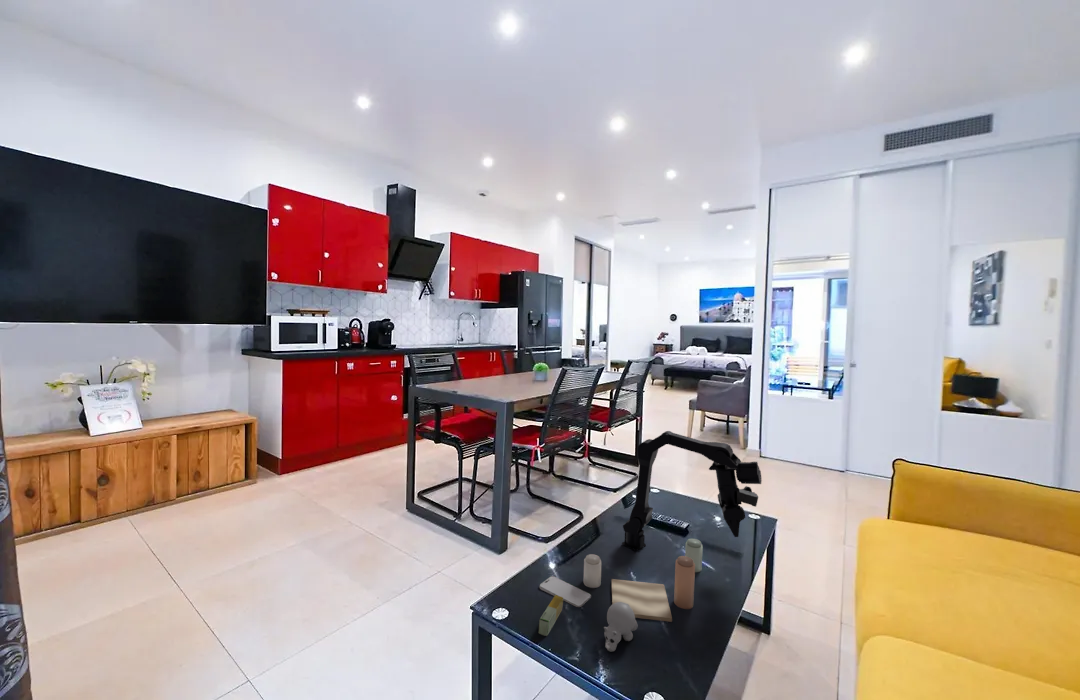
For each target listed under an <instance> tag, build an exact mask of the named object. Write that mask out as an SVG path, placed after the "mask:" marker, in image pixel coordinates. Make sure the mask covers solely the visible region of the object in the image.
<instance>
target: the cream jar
mask: <svg viewBox="0 0 1080 700" xmlns="http://www.w3.org/2000/svg"><path fill="white" fill-rule="evenodd" d="M601 581H602V559H601V557H600V556H599V555H597V554H593V553H589V554H587V555H586V556H585V558H584V559H583V581H582V582H583V585H584V586H586V587H587V588H589V589H595V588H599V587H600V586H601V584H602V582H601Z"/></svg>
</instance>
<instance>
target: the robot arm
mask: <svg viewBox="0 0 1080 700" xmlns="http://www.w3.org/2000/svg"><path fill="white" fill-rule="evenodd" d="M665 445H669V446H673V447H676V448H680V449H681V450H682V449H683V450H686V451H690V452H693V453H696V454H699V455H702V456H703V457H705V458H707V459H708V460H710V461H712V464H711V465H710V466H709V468H708V470H709V471H715V474H716V480H717V482H716V483H717V489H718V494H717V500H718V501H717V502H718V504H719V507H720V508H721V513H722V517H723V519H724V521H725V522H726V524H727V526H728V528H729V529H730V531H731V533H732V535H733V536H734V538H738V537H739V533H740V526H741V525H740V524H741V522H742V521H743V520H744V519H746V513H745V509H744V508H743V506H741V505H743V504H742V503H744V504H747V505H750V506H751V507H757V505H758V500H759V496H758V494H757V493H756V492H755V491H753V490H752V488H751V487H750V486H747V484H748V485H762V481H763V480H762V473H761V472H762V471H761V469H760V466H759V465H758V464H759V463H758V461H747V462H746V461H742V460H741V459H740V458H739V457H738V455H737V454H735V453H734V451H733V448H732V447H731V445H729V444H727V443H725V442H717V441H716V442H715V441H704V440H700V439H696V438H693V437H689V436H686V435H683V434H680V433H679V434H678V433H675V432H672V431H670V430H667V431H664V432H663V433H661V434H660V435H659V436H657V437H655V438H654V439H651V438H649V439H645V440H644V441H643V442H641V443H639V444H638V446H637V449H636V450H637V451H636V452H637V453H636V454H637V460H638V463H639V470H638V477H637V487H636V497H635V503H634V505H633V507H632V510H631V513H630V515H629V518H628V520H627V521H626V522H624V524H622V528H623V532H624V541H622V542H621V545H622V546H624V547H626V548H629V549H631V550H633V551H635V552H636V551H639V550H641V549H642V548H645V547H646V546H647V544H646V543H645V538H646V537H645V530H644V529H643V528H644V527H645V526H646V525H647V524H649V522H650V521H651V520H652V519H653V511H654V508H653V507H652V506H651V507H650V505H649V496H650V489H651V480H652V473H653V465H654V462H655V460H656V458H657V456H658V451H659V449H661V448H662V447H664V446H665ZM737 481H738V482H739V483H741V484H742V485H743V484H745V485H746V486H744V487H743V488H739V487H738V486H739V485H738V484H737Z"/></svg>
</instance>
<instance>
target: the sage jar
mask: <svg viewBox="0 0 1080 700" xmlns="http://www.w3.org/2000/svg"><path fill="white" fill-rule="evenodd" d="M703 546H704V545H703V544H702V542H701V541H700V540H699V539H697V538H688V539H687V540H686V542H685V549H684V552H685V553H684V556H687V557H689V558H691V559H692V560H693V562H694V563H695V573H700V572H702V566H703V565H702V564H703V549H704V548H703Z"/></svg>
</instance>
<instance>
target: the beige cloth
mask: <svg viewBox="0 0 1080 700" xmlns="http://www.w3.org/2000/svg"><path fill="white" fill-rule="evenodd" d="M611 600H612V601H611V603H612V604H614V603H616V602H623V603H626V604H628V605H629V606H630V607H631V608H632V610H633V612H634V615H635V619H645V620H652V621H653V620H654V621H660V622H661V621H662V622H670V623H672V622H673V616H672V612H671V608H670V604H669V600H668V595H667V590H666V587H665V584H662V583H654V582H653V583H652V582H646V581H645V582H644V581H635V580H634V581H632V580H624V579H616V578H615V579H614V578H611ZM612 604H611V605H612Z"/></svg>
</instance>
